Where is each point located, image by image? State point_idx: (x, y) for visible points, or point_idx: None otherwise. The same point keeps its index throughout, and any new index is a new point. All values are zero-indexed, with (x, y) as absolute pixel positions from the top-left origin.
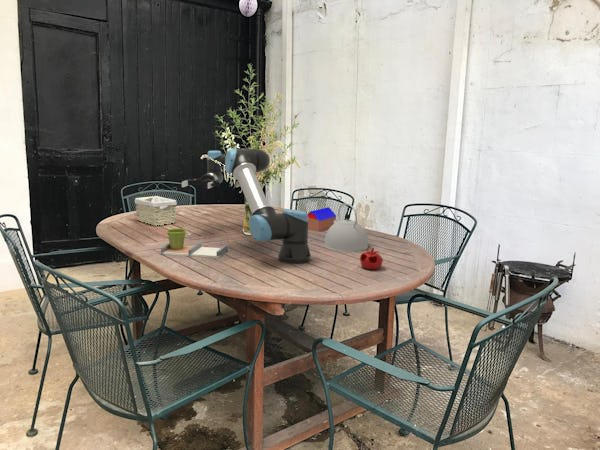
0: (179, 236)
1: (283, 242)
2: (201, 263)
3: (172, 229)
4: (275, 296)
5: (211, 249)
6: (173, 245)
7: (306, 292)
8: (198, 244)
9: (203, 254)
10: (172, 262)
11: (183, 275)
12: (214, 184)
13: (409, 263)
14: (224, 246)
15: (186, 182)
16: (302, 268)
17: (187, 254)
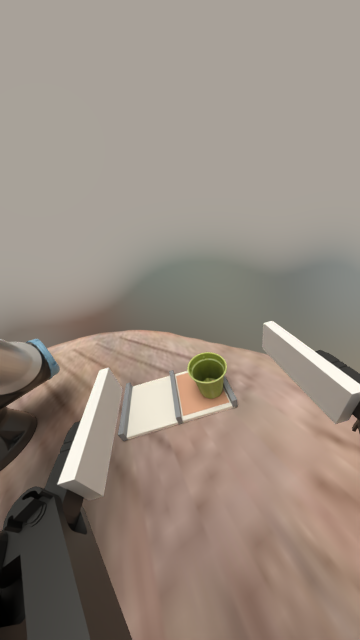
0: (194, 365)
1: (7, 411)
2: (146, 362)
3: (224, 371)
4: (77, 338)
5: (151, 415)
6: (207, 373)
7: (51, 352)
8: (174, 404)
9: (153, 383)
10: (179, 350)
11: (150, 334)
12: (63, 461)
13: None
14: (122, 417)
15: (312, 373)
16: (19, 405)
17: (176, 374)
